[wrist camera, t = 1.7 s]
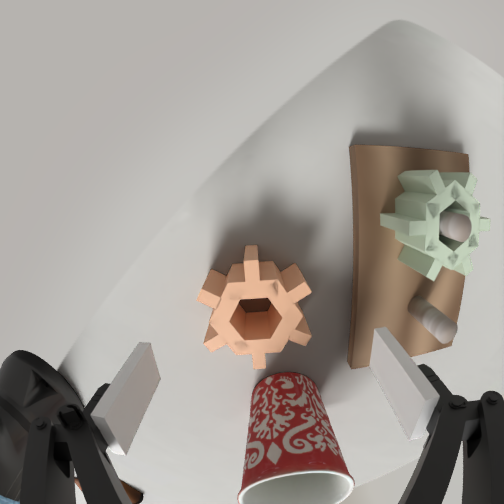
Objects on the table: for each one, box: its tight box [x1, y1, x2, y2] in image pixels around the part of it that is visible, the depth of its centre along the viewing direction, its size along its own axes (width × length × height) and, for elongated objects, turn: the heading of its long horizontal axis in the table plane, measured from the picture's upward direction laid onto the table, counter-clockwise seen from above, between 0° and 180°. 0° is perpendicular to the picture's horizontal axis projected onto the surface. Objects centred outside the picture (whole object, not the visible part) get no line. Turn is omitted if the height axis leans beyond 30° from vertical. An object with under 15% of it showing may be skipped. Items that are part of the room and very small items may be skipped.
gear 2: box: [380, 170, 490, 281], centre depth 20 cm, size 9×8×5 cm
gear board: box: [347, 145, 472, 369], centre depth 21 cm, size 13×21×8 cm, turn 4°
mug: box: [237, 372, 355, 504], centre depth 22 cm, size 13×9×14 cm
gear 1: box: [196, 245, 312, 369], centre depth 23 cm, size 9×8×5 cm
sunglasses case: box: [74, 478, 143, 504], centre depth 35 cm, size 18×7×7 cm, turn 126°
